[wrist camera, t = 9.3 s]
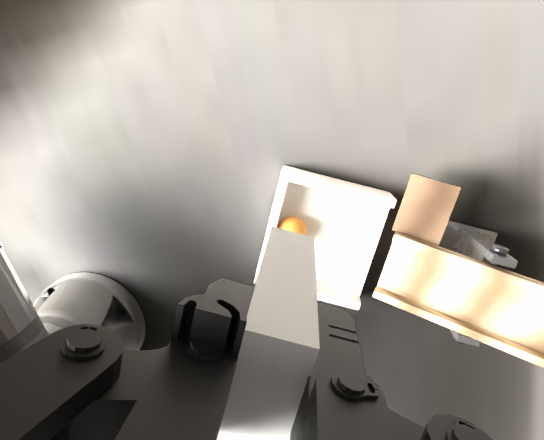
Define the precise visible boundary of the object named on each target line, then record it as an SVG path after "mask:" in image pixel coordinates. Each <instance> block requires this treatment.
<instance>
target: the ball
mask: <svg viewBox="0 0 544 440" xmlns="http://www.w3.org/2000/svg"><path fill="white" fill-rule="evenodd" d="M278 228H280V229H284V230H288V231H292V232H296V233H300V234H304V235H306V233H307V229H306V225H305V224H304V222H303V221H302V220H301V219H299V218H297V217H293V216H291V217H286V218H284V219H283V220H282V221H281V222H280V223H279V225H278Z"/></svg>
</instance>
